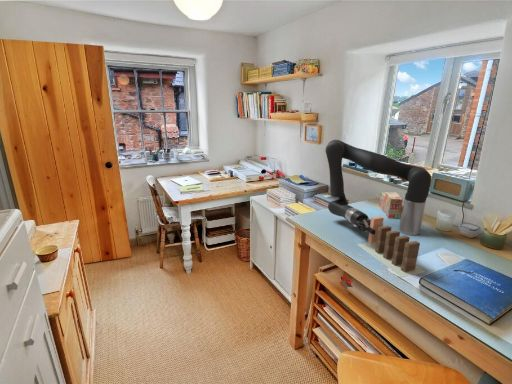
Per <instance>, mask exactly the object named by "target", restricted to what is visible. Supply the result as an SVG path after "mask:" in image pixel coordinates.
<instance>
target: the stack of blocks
mask: <svg viewBox="0 0 512 384" xmlns="http://www.w3.org/2000/svg"><path fill="white" fill-rule="evenodd" d="M379 197H380V198H379V207H380V209H381V210H382V212H383V213H384V215H385V216H386V217H387V219H391V220H400V219H401V213H402V208H403V202H404V201H403V198H402V197H401V196H400V195H399V194H398V192H395V191H394V192H392V191H391V192H387V191H385V192H383V191H382V192H380V196H379Z"/></svg>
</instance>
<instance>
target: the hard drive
mask: <svg viewBox="0 0 512 384" xmlns="http://www.w3.org/2000/svg"><path fill="white" fill-rule="evenodd" d="M436 255H437V256H438V257H437V256H436ZM435 256H436V257H437V258H438V259H439V260H440V261H442V262H443V263H444V264H445V263H446V264H447V265H448V266H449V265H452V264H455V263H457V262H460V261H462V260H463V259H461V257H459V256H458V255H457V254H455V253H436V254H435ZM446 264H445V265H446ZM447 265H446V266H447ZM448 266H447V267H448Z"/></svg>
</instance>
